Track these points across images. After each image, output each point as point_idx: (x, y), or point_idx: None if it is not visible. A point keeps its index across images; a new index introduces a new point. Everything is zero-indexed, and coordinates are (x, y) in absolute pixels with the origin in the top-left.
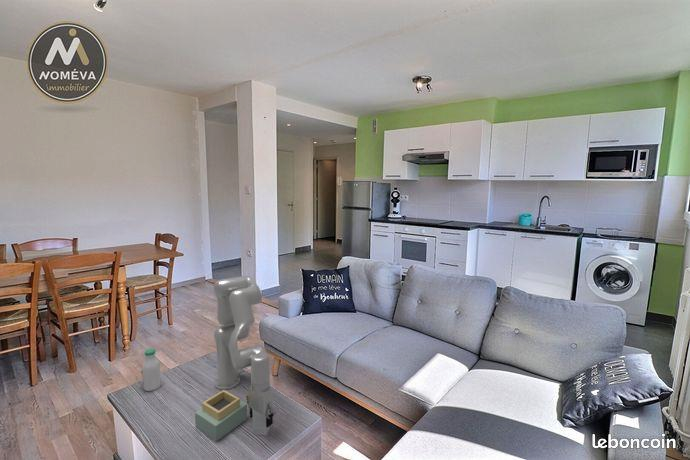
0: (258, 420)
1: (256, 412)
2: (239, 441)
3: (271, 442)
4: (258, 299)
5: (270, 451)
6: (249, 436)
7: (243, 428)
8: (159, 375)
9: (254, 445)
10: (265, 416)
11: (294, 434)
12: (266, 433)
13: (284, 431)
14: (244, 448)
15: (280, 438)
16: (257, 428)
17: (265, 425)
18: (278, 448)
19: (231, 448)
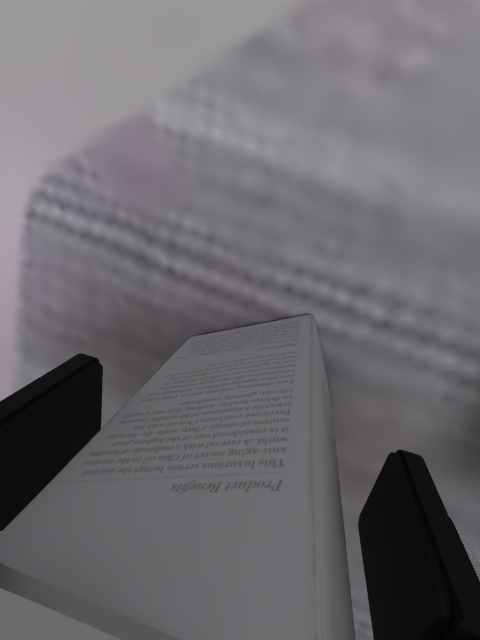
0: (208, 412)
1: (180, 564)
2: (403, 179)
3: (113, 289)
4: None
5: (60, 203)
6: (332, 280)
7: (459, 352)
8: None
9: (218, 201)
10: (53, 486)
11: None
12: (182, 346)
13: (104, 409)
14: (288, 118)
15: (85, 345)
16: (255, 348)
17: (146, 385)
18: (34, 255)
19: (446, 33)
